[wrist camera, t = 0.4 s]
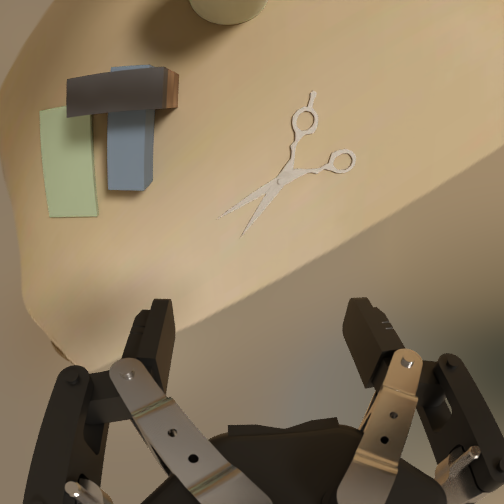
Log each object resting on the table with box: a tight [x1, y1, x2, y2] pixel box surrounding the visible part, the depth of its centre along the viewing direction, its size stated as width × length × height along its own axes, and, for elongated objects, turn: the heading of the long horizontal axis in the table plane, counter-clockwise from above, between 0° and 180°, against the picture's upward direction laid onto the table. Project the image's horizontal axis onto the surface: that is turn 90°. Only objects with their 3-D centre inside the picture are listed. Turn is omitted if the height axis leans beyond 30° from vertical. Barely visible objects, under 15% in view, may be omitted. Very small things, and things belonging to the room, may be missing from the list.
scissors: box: [216, 91, 356, 238], centre depth 37 cm, size 11×1×20 cm
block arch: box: [66, 67, 179, 118], centre depth 27 cm, size 4×10×8 cm, turn 86°
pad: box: [40, 106, 99, 217], centre depth 33 cm, size 15×8×1 cm, turn 176°
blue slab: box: [107, 65, 155, 191], centre depth 31 cm, size 14×4×4 cm, turn 174°
